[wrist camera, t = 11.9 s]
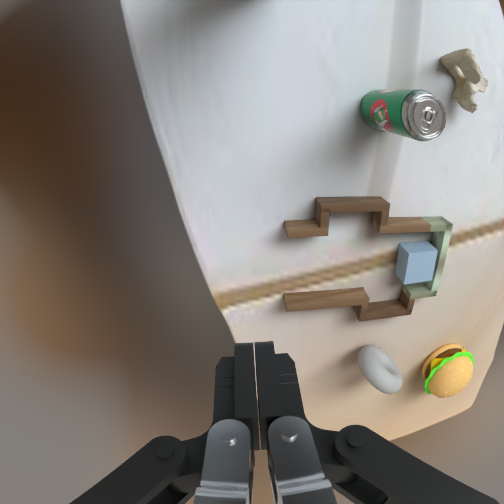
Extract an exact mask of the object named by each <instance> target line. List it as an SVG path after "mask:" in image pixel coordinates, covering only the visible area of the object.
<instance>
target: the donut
mask: <svg viewBox="0 0 504 504" xmlns="http://www.w3.org/2000/svg"><path fill="white" fill-rule="evenodd" d="M358 364H359V367H360V369H361V371H362V373H363V375H364V376H365V377H366V379H367V380H368V381H369V382H370V383H371V385H373V386H374V387H375V388H376V389H378V390H379V391H381V392H383V393H386V394H393V393H396V392H397V391H399V390H400V388H401V386H402V383H403V378H402V374H401V372H400V370H399V368H398V366H397V365H396V363H395V362H394V361H393V359H392V358H391V357H390V356H389V355H388V354H387V353H386V352H385V351H383V350H382V349H380V348H379V347H376V346H374V345H367V346H364V347H363V348H362V349H361V350H360V351H359V353H358Z"/></svg>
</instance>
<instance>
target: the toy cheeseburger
mask: <svg viewBox="0 0 504 504" xmlns="http://www.w3.org/2000/svg"><path fill="white" fill-rule="evenodd" d="M472 373H473V356H472V354H471V353H469V352H467V351H466V349H465V348H464V347H463V350H462V348H461V347H460V346H459V345H457V344H447V345H444V346H442V347H440V348H438V349H437V350H435V351H434V352H433V353H432V354H431V355H430V356H429V357H428V358H427V360H426V361H425V363H424V365H423V368H422V376H423V378H424V379H425V387H424V389H425V391H426V392H427V393H428V394H433V395H435V396H437V397H439V398H445V397H451V396H453V395H455V394H457V393H459V392H460V391H461V390H462V389H464V388H465V386H466V385H467V384H468V383H469V381H470V379H471V376H472Z"/></svg>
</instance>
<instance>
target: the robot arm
mask: <svg viewBox="0 0 504 504" xmlns="http://www.w3.org/2000/svg"><path fill="white" fill-rule="evenodd" d="M255 361H256V379H257V394H258V408H259V422H260V436H261V449H262V450H265V449H267V454H268V470H269V475H270V480H271V486H272V492H273V497H274V503H275V504H337V501H336V498H335V495H334V491H333V488H334V489H335V490H336V491H338V492H339V493H340V494H342V495H344V496H345V497H346V498H348V499H349V500H351V501H352V502H353V503H355V504H499V503H498V502H497V501H496V500H495V499H493V498H491V497H489V496H487V495H485V494H483V493H481V492H479V491H477V490H475V489H473V488H471V487H469V486H467V485H465V484H463V483H461V482H459V481H458V480H456V479H454V478H452V477H450V476H448V475H446V474H444V473H443V472H441V471H439V470H437V469H435V468H434V467H432V466H430V465H428V464H427V463H425V462H423V461H421V460H420V459H418V458H416V457H414V456H413V455H411V454H409V453H407V452H406V451H404V450H403V449H401V448H399V447H398V446H396V445H394V444H393V443H391V442H389V441H388V440H386V439H385V438H383V437H381V436H380V435H378V434H376V433H375V432H373V431H372V430H370V429H369V428H367V427H364V426H361V425H350V426H347V427H345V428H343V429H342V430H340V431H339V432H338V431H330V430H323V429H320V428H317V427H315V426H313V425H312V424H311V423H310V422H309V421H308V420H307V419H306V417H305V414H304V409H303V404H302V399H301V393H300V388H299V383H298V378H297V374H296V368H295V363H294V361H293V360H292V358H291V357H290V356H289V355H288V353H283V354H275V351H274V344H273V341H268V342H255ZM258 429H259V428H258V412H257V396H256V381H255V366H254V350H253V343H235V357H222V358H221V359H220V361H219V363H218V364H217V366H216V375H215V393H214V413H213V422H212V425H211V427H210V428H209V430H208V431H207V432H206V433H204V434H203V435H201V436H199V437H196V438H193V439H189V440H185V441H180V440H179V439H177V438H175V437H172V436H160V437H156V438H154V439H152V440H151V441H150V442H149V443H147V444H146V445H145V446H144V447H143V448H141V449H140V450H139V451H138V452H136V453H135V454H134V455H133V456H132V457H130V458H129V459H128V460H127V461H125V462H124V463H123V464H122V465H120V466H119V467H118V468H116V469H115V470H114V471H113V472H111V473H110V474H109V475H108V476H106V477H105V478H104V479H102V480H101V481H100V482H98V483H97V484H96V485H94V486H93V487H92V488H90V489H89V490H88V491H86V492H85V493H83V494H82V495H81V496H79V497H78V498H77V499H75V500H74V501H72V502H71V503H70V504H185V503H186V502H187V501H188V500H189V499H190V498H191V497H192V496H193V495H195V496H194V502H193V504H252V498H253V497H252V496H253V473H254V471H253V470H254V466H255V455H254V450H260V447H259V430H258Z"/></svg>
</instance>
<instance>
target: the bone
mask: <svg viewBox="0 0 504 504" xmlns="http://www.w3.org/2000/svg"><path fill="white" fill-rule="evenodd" d="M440 60H441V64H442V65H443V66H444V67H445V68H446V69H447V70H448V71H449V72H450V74H451V75H452V76H453V77H454V79H455V81H456V88H455V91H454V94H453V95H452V99H454V98H458V100H457V101H458V103H459V104H460V106H461V107H462V108H463V109H465V110H467V111H469V112H471V113H473V112H474V111H475V110H476V109H477V104H476V103H475V102H474V99H473V95H474V94H475V93H476V92H478V91H480V92H485V90H486V87H487V85H488V80H487V79H485V78H484V77H483V75H482V73H481V71H480V70H479V69H480V68H479V66H478V64H477V62H476V60H475V56H474V54H473V53H472V51H471V50H470V49H462V50H458V51H454V52H451V53H449V54H446V55H444V56H442V57H441V58H440ZM457 66H458V67H459V68H460V69H461V70H462V72H463V74H464V75H463V74H462V73H461V72H460V71H459V70H458V68H457Z"/></svg>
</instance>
